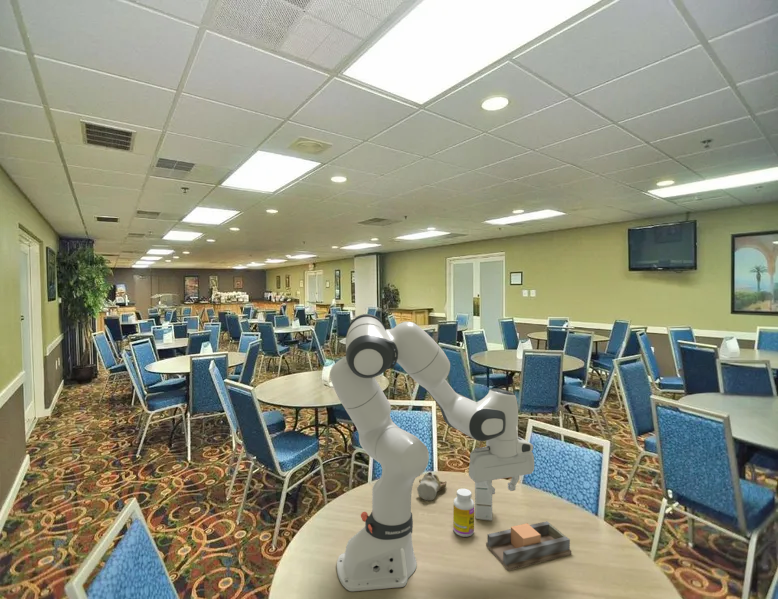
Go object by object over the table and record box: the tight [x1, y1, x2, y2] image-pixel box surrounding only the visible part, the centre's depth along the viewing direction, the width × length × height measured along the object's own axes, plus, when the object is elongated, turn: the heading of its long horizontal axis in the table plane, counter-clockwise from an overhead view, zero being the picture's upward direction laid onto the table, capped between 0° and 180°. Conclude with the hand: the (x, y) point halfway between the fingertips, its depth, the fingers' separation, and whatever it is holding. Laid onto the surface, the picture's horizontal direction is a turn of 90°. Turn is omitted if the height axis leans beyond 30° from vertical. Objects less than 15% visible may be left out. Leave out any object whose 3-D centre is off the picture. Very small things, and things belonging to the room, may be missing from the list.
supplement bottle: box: [452, 488, 475, 538], centre depth 125 cm, size 7×7×13 cm
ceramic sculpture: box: [416, 471, 447, 501], centre depth 148 cm, size 11×9×15 cm
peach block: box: [510, 522, 541, 548], centre depth 116 cm, size 6×6×5 cm
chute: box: [485, 520, 572, 571], centre depth 116 cm, size 22×11×4 cm, turn 108°
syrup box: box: [474, 482, 493, 521], centre depth 134 cm, size 6×6×14 cm
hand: (501, 491), depth 113 cm, fingers open, 5 cm apart
